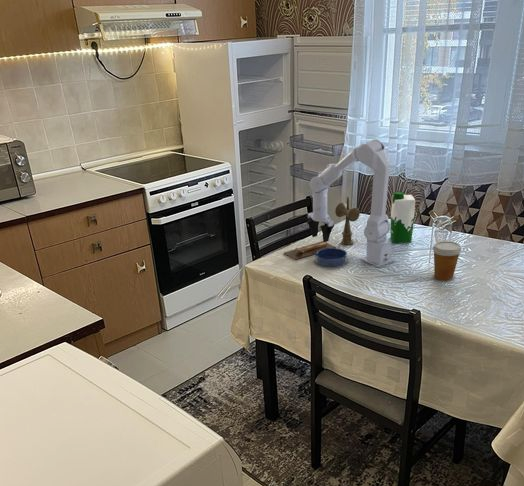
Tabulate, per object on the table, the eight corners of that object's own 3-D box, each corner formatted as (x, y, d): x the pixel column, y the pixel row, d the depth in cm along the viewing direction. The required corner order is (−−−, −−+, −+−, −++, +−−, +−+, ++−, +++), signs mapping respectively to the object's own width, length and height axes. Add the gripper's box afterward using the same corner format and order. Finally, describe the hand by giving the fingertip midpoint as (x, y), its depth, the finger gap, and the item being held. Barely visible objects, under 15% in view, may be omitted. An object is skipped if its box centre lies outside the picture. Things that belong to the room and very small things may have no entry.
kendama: (345, 239, 232) (346, 192, 222) (359, 245, 225) (361, 197, 214) (334, 242, 230) (334, 195, 219) (348, 249, 222) (349, 200, 212)
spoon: (298, 251, 217) (303, 237, 215) (293, 249, 219) (297, 235, 218) (324, 257, 225) (328, 244, 224) (318, 255, 228) (323, 241, 226)
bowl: (353, 262, 210) (353, 254, 208) (328, 270, 205) (328, 262, 203) (333, 253, 219) (333, 245, 217) (309, 261, 214) (309, 253, 212)
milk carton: (388, 237, 231) (390, 190, 221) (409, 235, 231) (413, 188, 221) (391, 244, 224) (395, 196, 213) (414, 243, 224) (418, 194, 213)
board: (322, 243, 230) (322, 241, 229) (336, 249, 223) (336, 246, 223) (283, 254, 221) (283, 252, 221) (296, 261, 215) (296, 258, 214)
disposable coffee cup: (443, 285, 188) (447, 252, 182) (424, 276, 196) (427, 244, 189) (463, 278, 192) (468, 246, 186) (444, 269, 199) (447, 238, 193)
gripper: (339, 208, 211) (339, 241, 219) (317, 200, 222) (317, 232, 229) (325, 212, 208) (325, 245, 216) (303, 203, 219) (304, 236, 226)
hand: (320, 238), depth 222 cm, fingers open, 7 cm apart
